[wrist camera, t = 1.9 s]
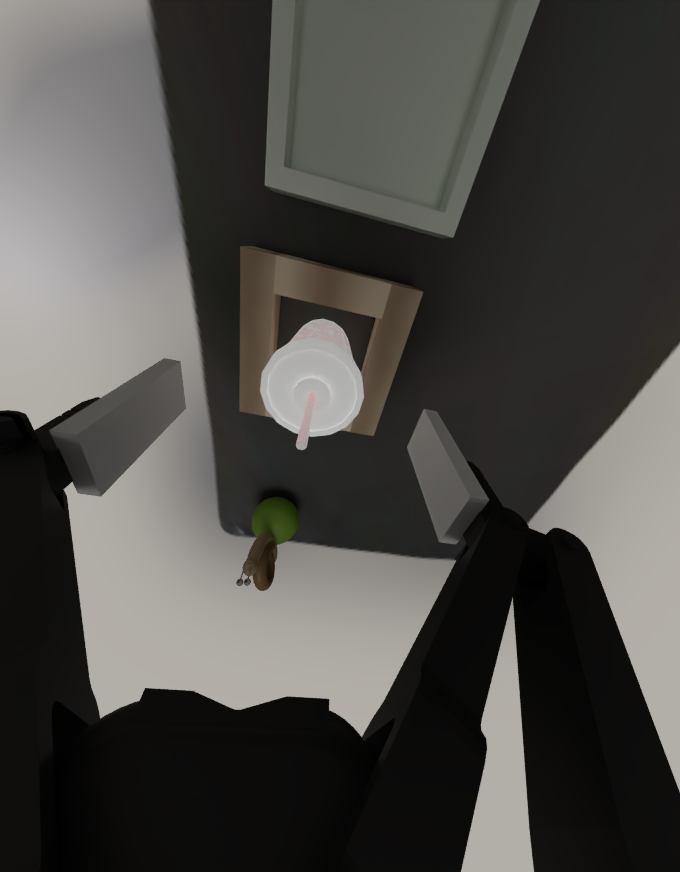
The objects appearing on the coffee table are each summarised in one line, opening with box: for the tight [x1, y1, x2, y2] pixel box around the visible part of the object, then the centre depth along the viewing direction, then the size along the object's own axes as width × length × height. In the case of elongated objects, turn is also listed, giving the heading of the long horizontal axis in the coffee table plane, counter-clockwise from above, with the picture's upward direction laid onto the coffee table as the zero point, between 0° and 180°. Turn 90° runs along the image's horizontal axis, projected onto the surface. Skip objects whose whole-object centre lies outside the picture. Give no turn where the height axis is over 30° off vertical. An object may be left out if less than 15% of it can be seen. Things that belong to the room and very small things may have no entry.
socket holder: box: [240, 246, 423, 436], centre depth 22 cm, size 12×12×3 cm
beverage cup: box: [260, 319, 364, 450], centre depth 18 cm, size 6×6×14 cm
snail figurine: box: [236, 497, 299, 591], centre depth 30 cm, size 5×6×12 cm
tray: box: [265, 0, 540, 238], centre depth 14 cm, size 12×12×2 cm
